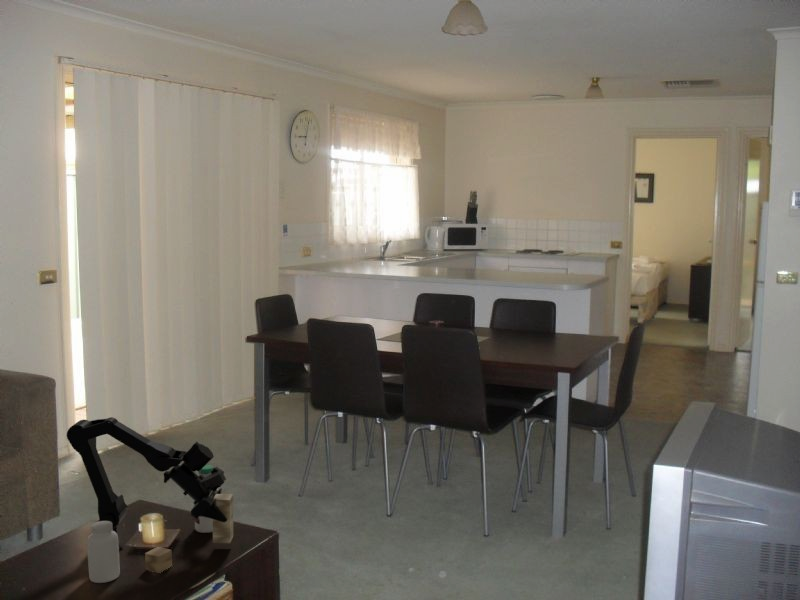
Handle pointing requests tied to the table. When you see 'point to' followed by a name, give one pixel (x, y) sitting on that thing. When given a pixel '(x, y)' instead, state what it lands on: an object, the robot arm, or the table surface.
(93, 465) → the robot arm
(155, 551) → the oak cube
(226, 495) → the maple block
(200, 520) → the milk bottle
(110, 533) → the pill bottle
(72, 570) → the table surface
